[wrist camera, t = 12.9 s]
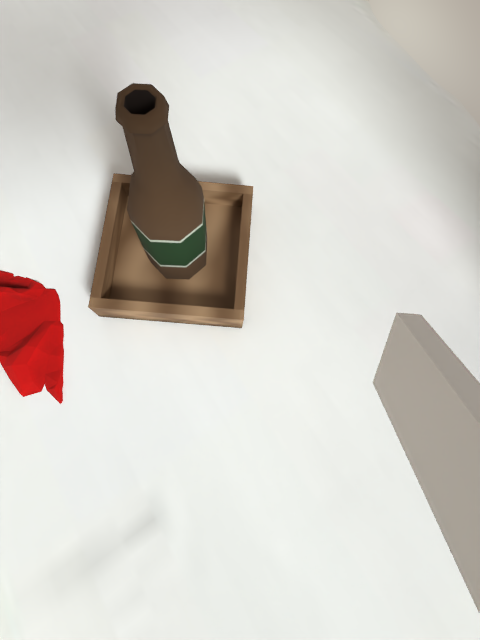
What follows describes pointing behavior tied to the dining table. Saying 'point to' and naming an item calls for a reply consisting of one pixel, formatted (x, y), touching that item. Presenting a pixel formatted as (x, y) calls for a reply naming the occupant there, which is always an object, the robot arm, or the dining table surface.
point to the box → (175, 294)
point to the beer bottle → (161, 187)
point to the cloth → (31, 335)
